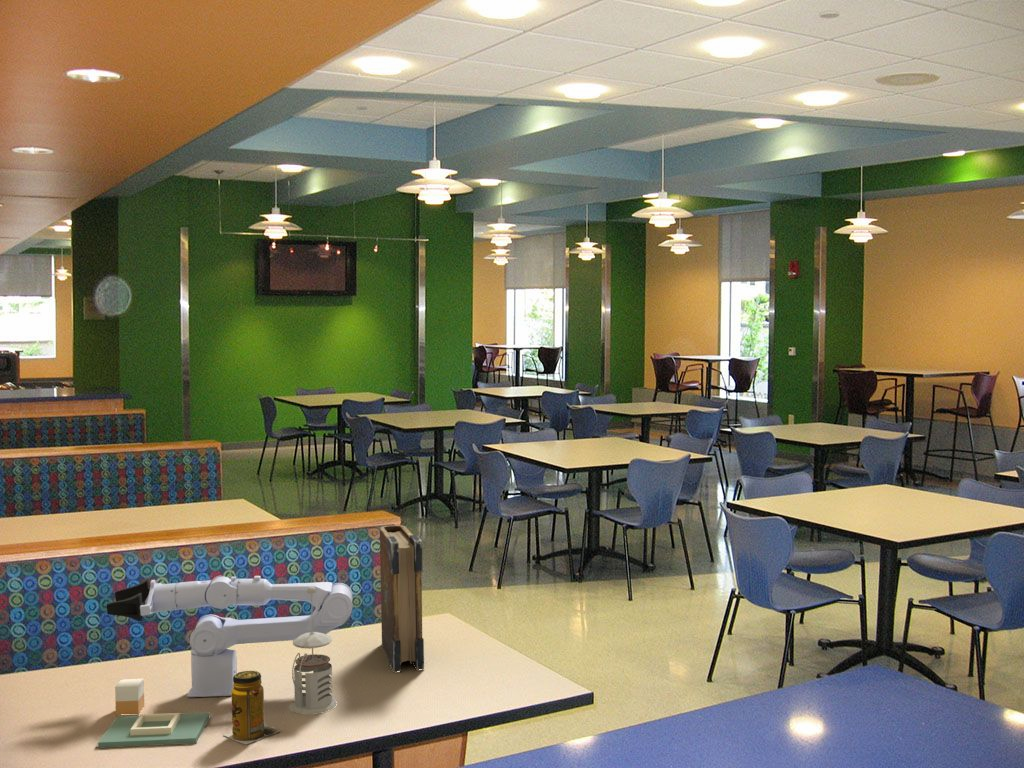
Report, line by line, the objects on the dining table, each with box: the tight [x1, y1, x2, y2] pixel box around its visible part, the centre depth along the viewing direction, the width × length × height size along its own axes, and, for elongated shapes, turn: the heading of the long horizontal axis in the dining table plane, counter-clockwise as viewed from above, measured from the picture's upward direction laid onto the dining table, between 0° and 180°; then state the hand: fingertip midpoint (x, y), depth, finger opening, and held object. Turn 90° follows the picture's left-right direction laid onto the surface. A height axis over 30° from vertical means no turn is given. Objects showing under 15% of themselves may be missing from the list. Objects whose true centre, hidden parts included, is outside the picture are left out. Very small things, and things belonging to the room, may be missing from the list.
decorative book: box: [379, 524, 425, 672], centre depth 245 cm, size 23×7×30 cm, turn 15°
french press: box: [289, 587, 338, 715], centre depth 213 cm, size 10×12×25 cm
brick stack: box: [114, 678, 145, 716], centre depth 212 cm, size 4×4×6 cm
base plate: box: [97, 712, 211, 749], centre depth 201 cm, size 18×13×2 cm
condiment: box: [223, 670, 283, 745], centre depth 199 cm, size 7×8×12 cm
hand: (111, 602), depth 219 cm, fingers open, 7 cm apart
